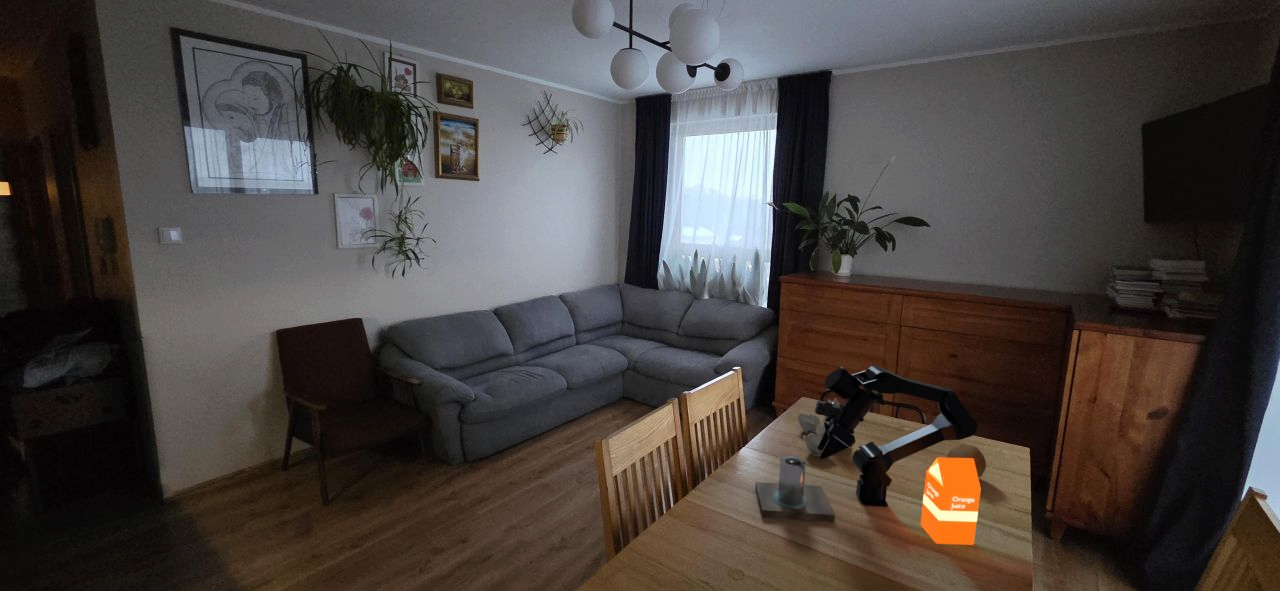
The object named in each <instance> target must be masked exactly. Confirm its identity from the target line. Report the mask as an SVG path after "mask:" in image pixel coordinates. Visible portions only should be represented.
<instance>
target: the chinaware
mask: <svg viewBox="0 0 1280 591" xmlns="http://www.w3.org/2000/svg"><path fill="white" fill-rule="evenodd" d="M827 402H829V403H832V405H835V406H838V407H839V406H840V404H841V403H840V402H839V400H837V398H834V399H833V400H832V399H828V400H827ZM825 417H826V416H824V418H822V417H818V416H817V414H813V413H812V414H811V413H810V414H809V413H808V414H805V413H800V414H798V416H796V420H798V424H799V426H800V428H801V429H802V431H803V432H804V434H807V435H803V436H802V438H803V440H804V442H805V447H806V448H807V450H808V451H809V452H811V453H812V454H811V455H812V456H814V455H815V456H814V457H817V458H820V455H821V453H822V451H823V450H821V451H820V450H818V445H819V443H820V441H821V439H822V436H823V434H824V432H825V426H824V421H825V420H823V419H825ZM822 422H823V423H822ZM825 422H826V421H825ZM827 422H828V421H827ZM827 422H826V423H827ZM821 423H822V425H821V426H820V424H821ZM816 431H817V433H814V432H816ZM808 433H809V434H808ZM811 433H812V434H811Z"/></svg>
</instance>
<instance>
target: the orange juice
mask: <svg viewBox="0 0 1280 591" xmlns="http://www.w3.org/2000/svg"><path fill="white" fill-rule="evenodd" d="M981 491H982V488H981V483H980V478H978V475H977V471H976V466H975V462H974V458H947V457H940V456H939V457H936V459H935V460H934V461H933V462H932V464H931V465H930V466H929V468H928V469H927V470H926V472H925V481H924V490H923V497H922V498H923V499H922V507H921V508H922V509H921V518H920V526H921V527H922V528H923V530H924V531H925V533H927V534H928V535H929V537H930V538H931V539H932V541H933V542H934V543H935V544H936V545H938V544H939V545H965V546H968V545H969V546H974V544H975V539H976V538H975V536H976V532H977V530H976V529H977V523H978V516H979V505H980V498H981Z"/></svg>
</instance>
